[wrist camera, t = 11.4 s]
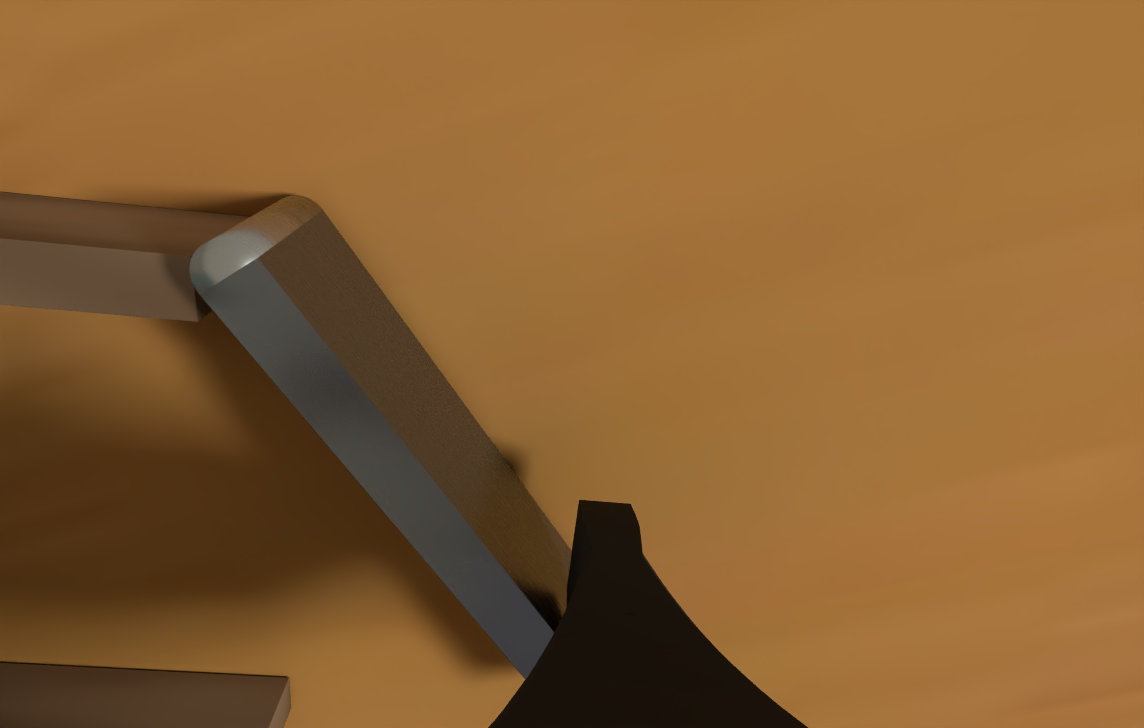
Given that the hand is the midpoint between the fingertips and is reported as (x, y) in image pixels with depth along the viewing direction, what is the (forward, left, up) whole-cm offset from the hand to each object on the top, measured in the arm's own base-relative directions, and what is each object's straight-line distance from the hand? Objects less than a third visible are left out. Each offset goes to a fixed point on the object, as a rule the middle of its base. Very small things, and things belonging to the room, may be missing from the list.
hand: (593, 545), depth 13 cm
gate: (+5, +6, -2) cm, 8 cm away
